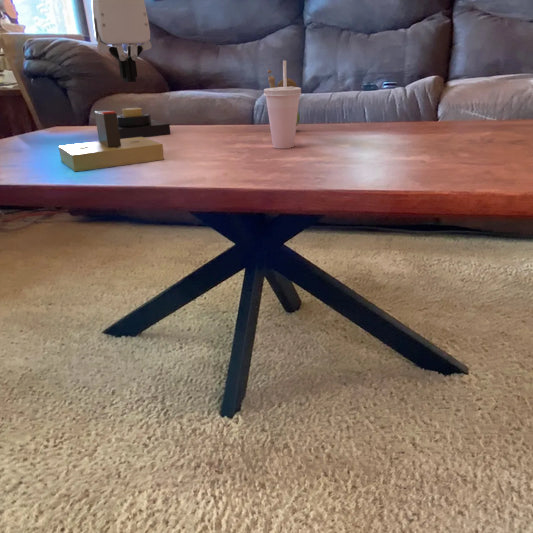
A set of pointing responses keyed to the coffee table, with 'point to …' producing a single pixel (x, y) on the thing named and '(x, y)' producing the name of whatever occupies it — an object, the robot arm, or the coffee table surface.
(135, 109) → the bell button
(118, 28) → the robot arm
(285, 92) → the smoothie
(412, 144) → the coffee table surface
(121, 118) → the block
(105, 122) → the lock turn
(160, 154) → the plate
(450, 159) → the coffee table surface
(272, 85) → the snail figurine
